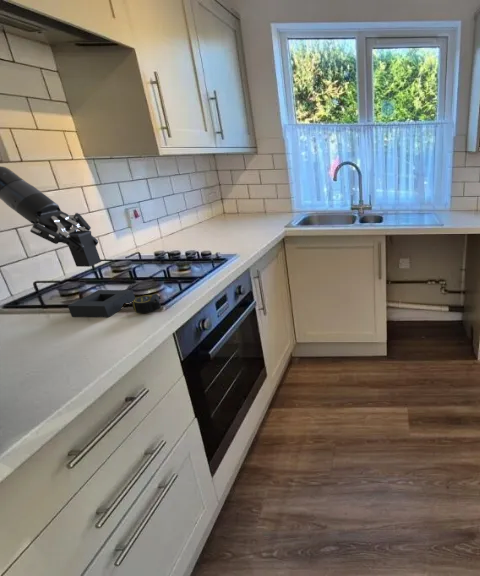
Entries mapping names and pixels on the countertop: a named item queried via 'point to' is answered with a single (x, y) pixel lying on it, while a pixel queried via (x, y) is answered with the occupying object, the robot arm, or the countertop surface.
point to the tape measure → (146, 303)
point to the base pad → (101, 303)
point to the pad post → (85, 249)
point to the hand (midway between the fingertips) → (89, 246)
